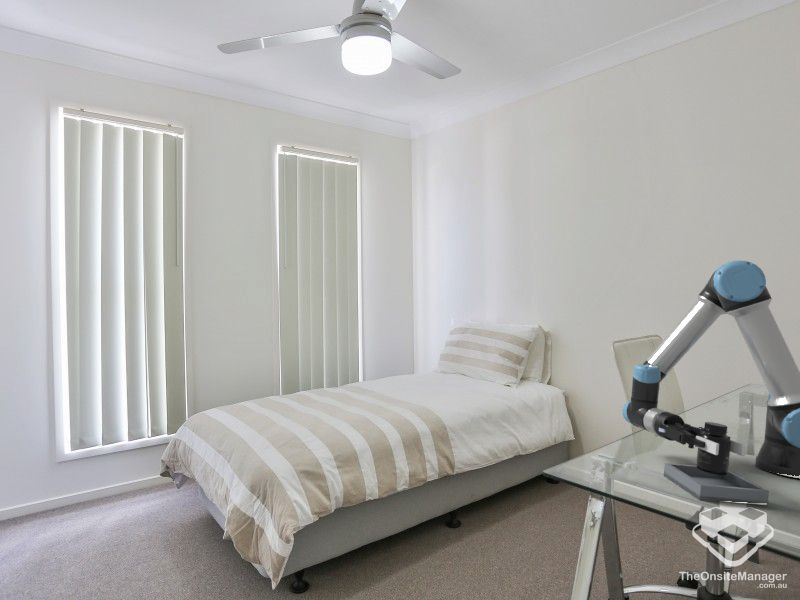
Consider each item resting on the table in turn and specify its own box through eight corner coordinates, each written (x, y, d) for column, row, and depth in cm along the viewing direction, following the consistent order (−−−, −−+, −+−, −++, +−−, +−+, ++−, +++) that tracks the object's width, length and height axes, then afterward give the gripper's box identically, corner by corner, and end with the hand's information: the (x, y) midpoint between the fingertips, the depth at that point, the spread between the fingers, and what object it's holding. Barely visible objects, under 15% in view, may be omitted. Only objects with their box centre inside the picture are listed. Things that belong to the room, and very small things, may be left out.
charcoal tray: (723, 480, 131) (724, 468, 131) (767, 506, 115) (768, 491, 115) (663, 475, 131) (664, 462, 131) (699, 500, 115) (700, 485, 115)
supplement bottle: (732, 478, 119) (737, 429, 119) (702, 473, 120) (706, 425, 120) (720, 468, 126) (724, 422, 125) (691, 464, 127) (695, 419, 127)
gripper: (693, 438, 142) (764, 466, 119) (632, 435, 139) (693, 463, 116) (695, 413, 142) (767, 436, 119) (635, 409, 139) (696, 432, 116)
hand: (730, 450), depth 118 cm, fingers closed on supplement bottle, 7 cm apart
